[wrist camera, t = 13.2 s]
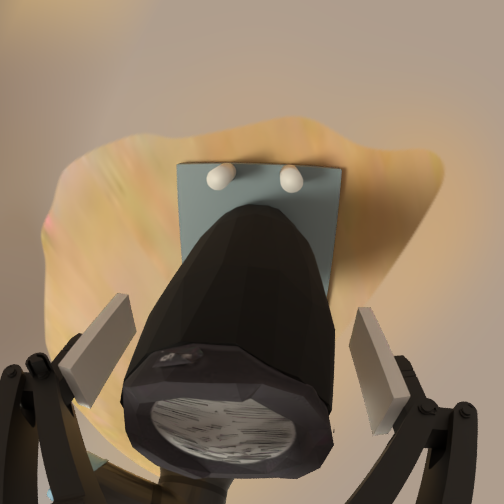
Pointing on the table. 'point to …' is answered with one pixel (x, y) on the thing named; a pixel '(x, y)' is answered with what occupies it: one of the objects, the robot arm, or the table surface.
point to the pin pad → (261, 200)
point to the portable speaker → (237, 357)
